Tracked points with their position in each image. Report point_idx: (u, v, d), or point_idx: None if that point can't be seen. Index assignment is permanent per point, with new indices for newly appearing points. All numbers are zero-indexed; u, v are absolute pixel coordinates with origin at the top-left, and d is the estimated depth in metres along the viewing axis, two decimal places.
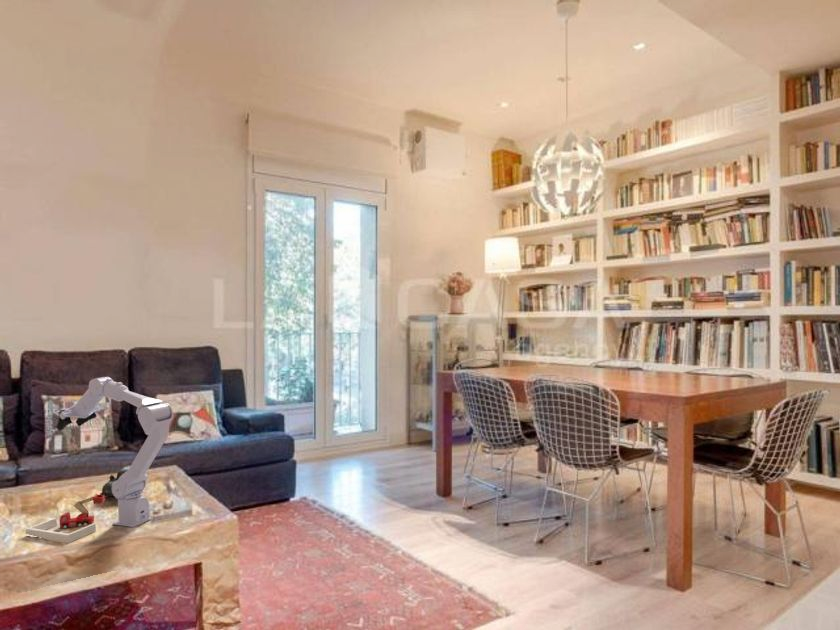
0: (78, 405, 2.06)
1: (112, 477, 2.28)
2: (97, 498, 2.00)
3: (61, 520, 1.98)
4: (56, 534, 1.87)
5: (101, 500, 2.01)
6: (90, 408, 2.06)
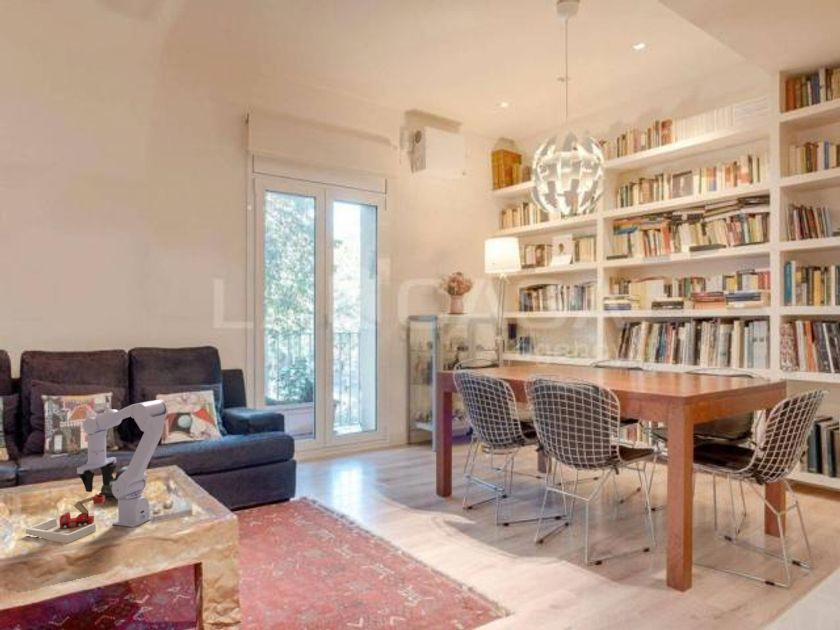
0: (88, 456, 2.05)
1: (111, 477, 2.28)
2: (97, 498, 2.00)
3: (61, 520, 1.98)
4: (56, 534, 1.87)
5: (101, 500, 2.01)
6: (100, 451, 2.05)
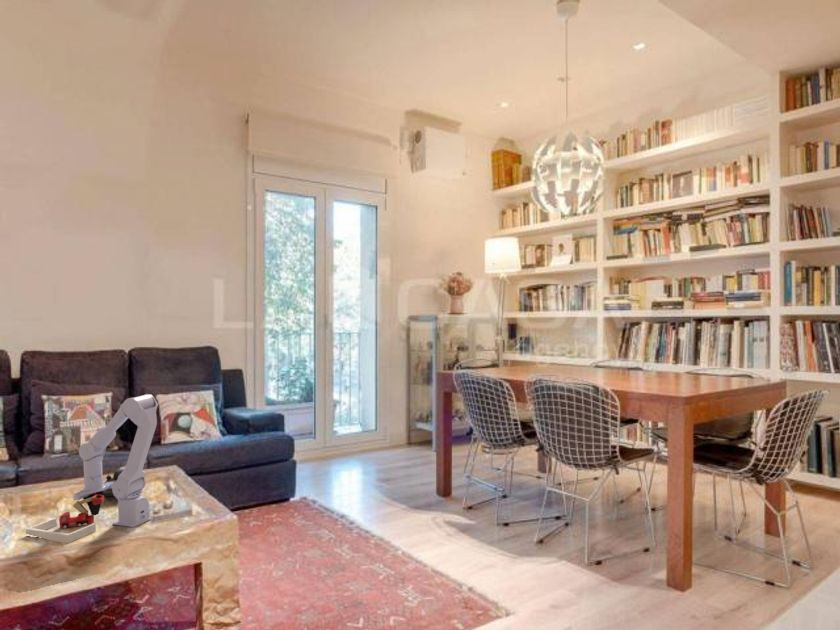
0: (85, 482, 2.03)
1: (109, 477, 2.28)
2: (96, 499, 2.00)
3: (61, 520, 1.97)
4: (56, 534, 1.87)
5: (100, 501, 2.00)
6: (97, 476, 2.03)
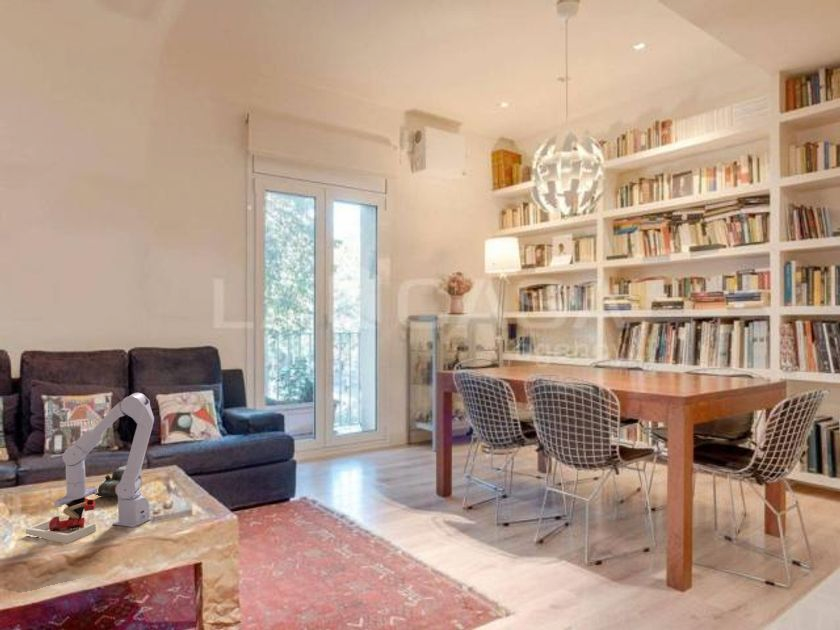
0: (67, 488, 1.96)
1: (108, 477, 2.28)
2: (88, 506, 1.94)
3: (51, 526, 1.92)
4: (56, 534, 1.87)
5: (92, 507, 1.95)
6: (79, 482, 1.97)
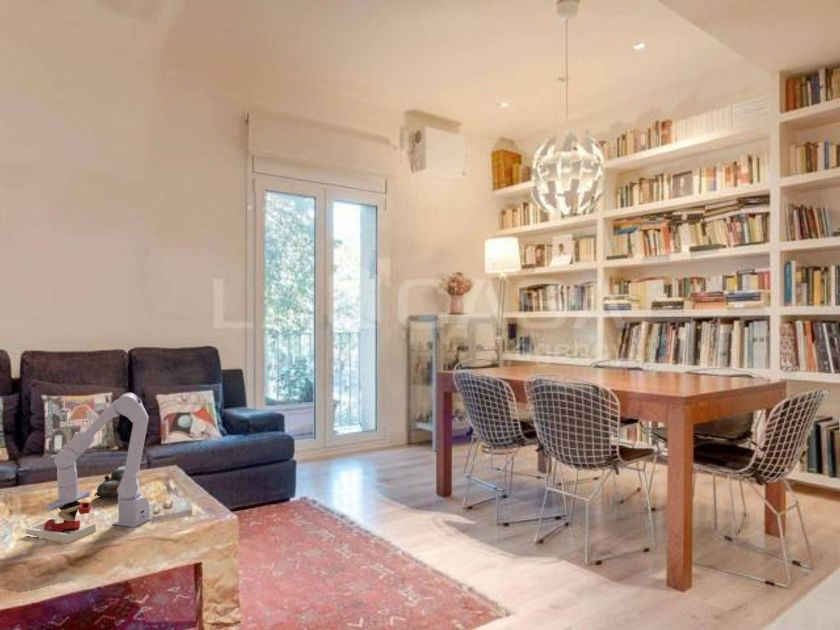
0: (59, 491, 1.93)
1: (107, 477, 2.28)
2: (83, 509, 1.92)
3: (46, 529, 1.90)
4: (56, 534, 1.87)
5: (88, 511, 1.92)
6: (71, 486, 1.94)
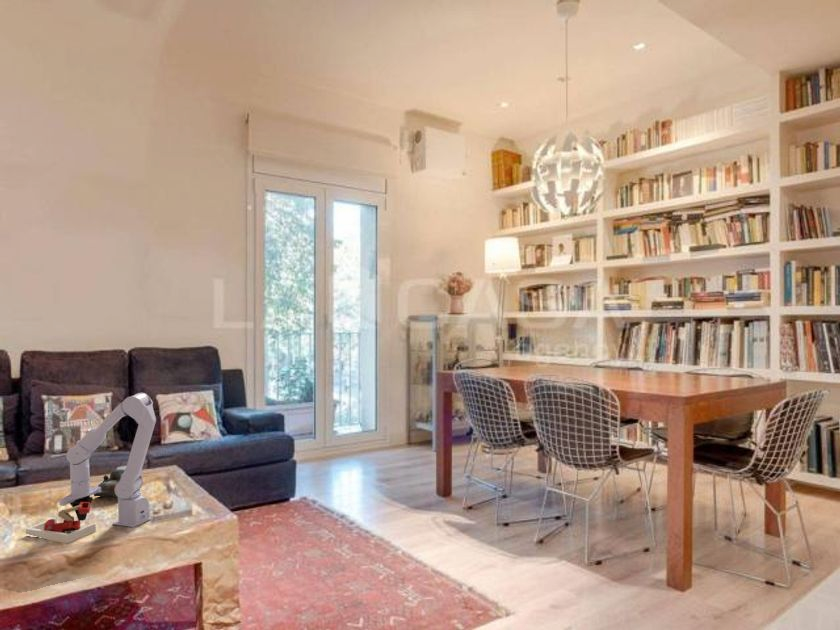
0: (71, 487, 1.98)
1: (106, 477, 2.28)
2: (83, 509, 1.92)
3: (46, 529, 1.90)
4: (56, 534, 1.87)
5: (87, 510, 1.92)
6: (84, 481, 1.99)
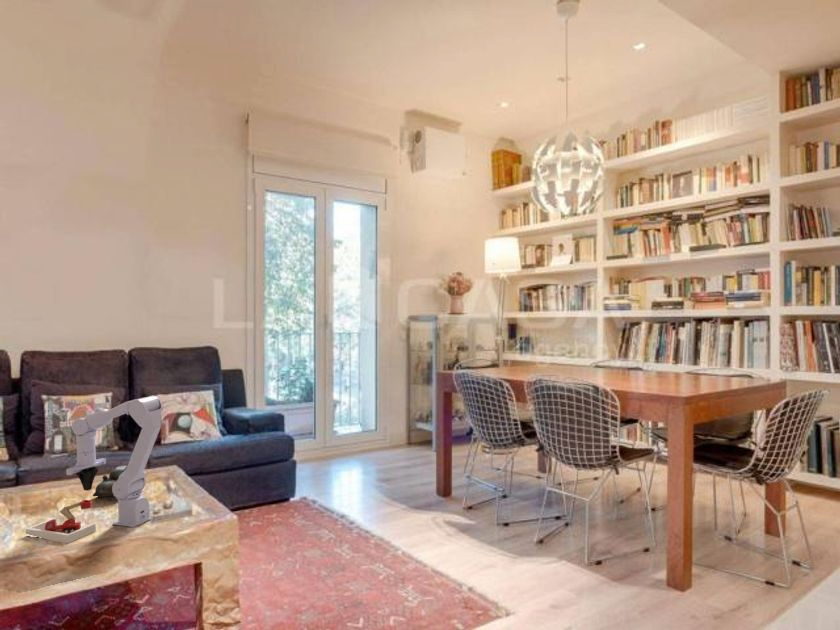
0: (78, 457, 2.03)
1: (105, 477, 2.28)
2: (85, 503, 1.95)
3: (47, 527, 1.91)
4: (56, 534, 1.87)
5: (89, 505, 1.96)
6: (90, 452, 2.04)
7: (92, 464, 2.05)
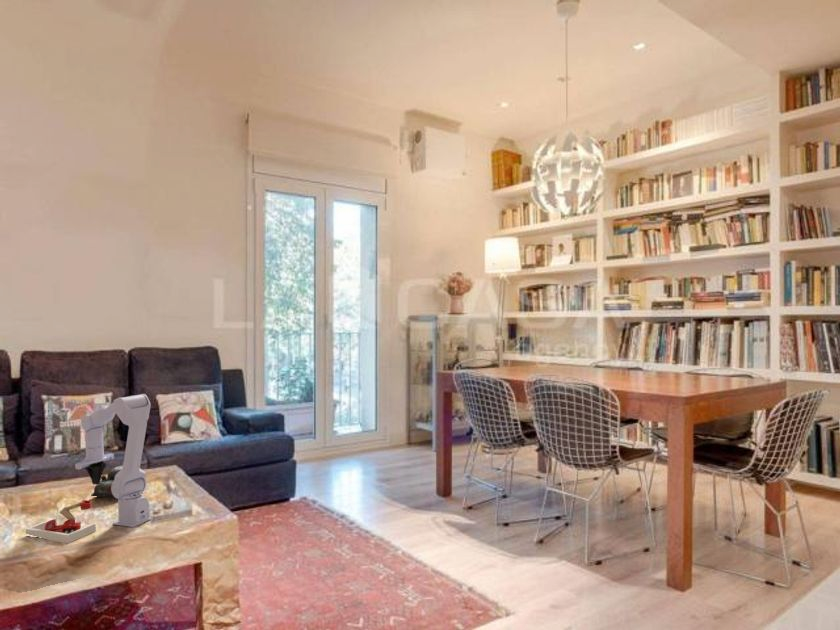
0: (86, 452, 2.10)
1: (104, 477, 2.28)
2: (85, 504, 1.95)
3: (47, 528, 1.91)
4: (56, 534, 1.87)
5: (89, 506, 1.95)
6: (98, 447, 2.11)
7: (100, 459, 2.12)
